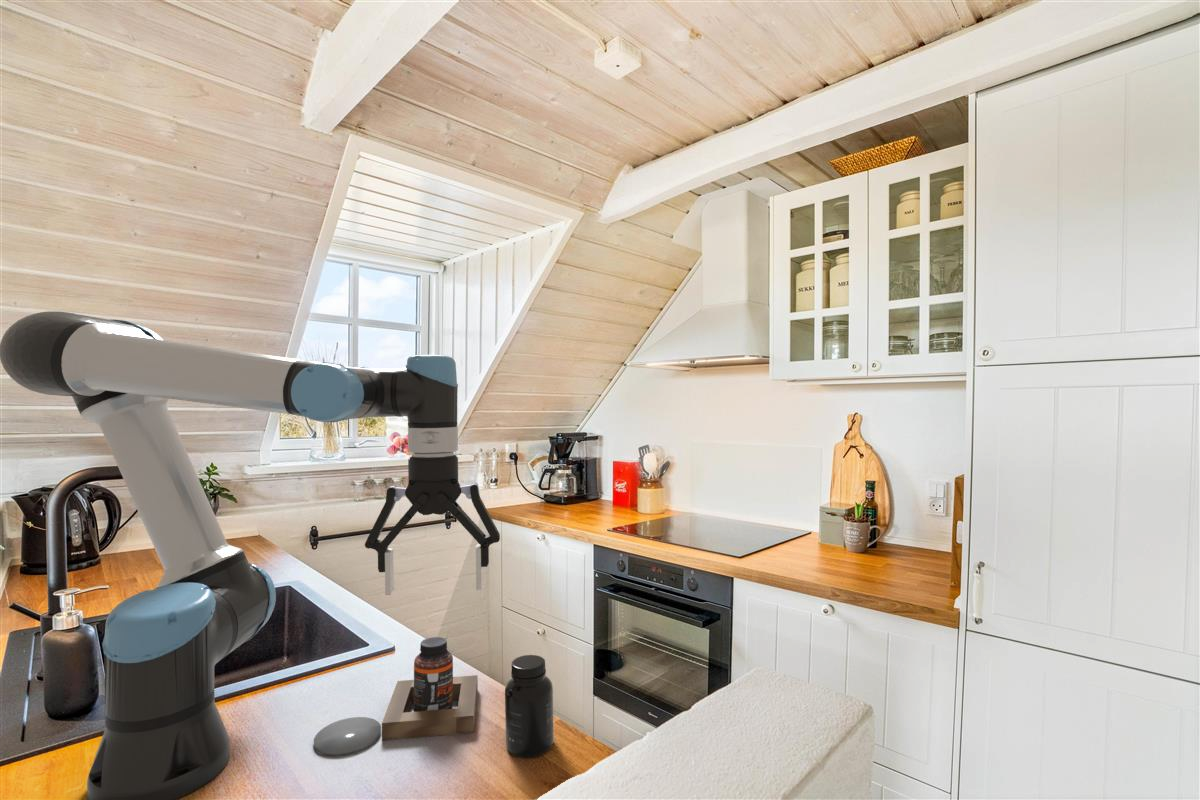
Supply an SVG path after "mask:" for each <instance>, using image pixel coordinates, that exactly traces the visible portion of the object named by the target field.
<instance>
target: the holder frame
mask: <svg viewBox="0 0 1200 800" xmlns="http://www.w3.org/2000/svg"><path fill="white" fill-rule="evenodd" d="M478 676H479V675H476V674H475V675H464V676H462V675H460V676H453V700H457V699H458V702H457V704H458V705H457V707H456V708H452V709H443V710H430V711H418V712H414V711H409V710H410V707H411V704H412V703H414V679H407V680H406V679H405V680H397V682H396V684H395V686H394V690H393V691H392V695H391V697H390V700H389V702H388V706H387V708H386V712H385V713H384V716H383V719H382V721H381V741H388V740H389V739H390V740H402V738H404V739H413V737H414V738H424V737H425V738H426V737H427V738H428V737H436V736H445V735H446V736H447V735H461V734H471V733H475V732H474V731H475V721H476V712H477V711H476V709H477V701H478V686H479V685H478V684H479V683H478Z"/></svg>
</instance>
